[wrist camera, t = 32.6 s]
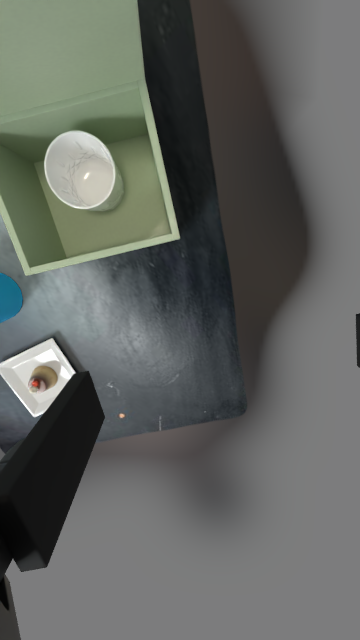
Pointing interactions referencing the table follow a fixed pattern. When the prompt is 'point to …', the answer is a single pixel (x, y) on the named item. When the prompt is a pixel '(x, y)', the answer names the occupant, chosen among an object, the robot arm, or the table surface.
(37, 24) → the chest lid
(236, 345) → the table surface
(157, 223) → the chest
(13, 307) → the mug
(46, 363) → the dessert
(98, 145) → the white cup
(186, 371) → the table surface
